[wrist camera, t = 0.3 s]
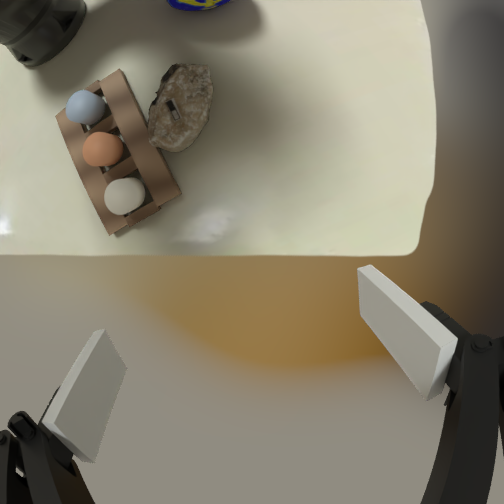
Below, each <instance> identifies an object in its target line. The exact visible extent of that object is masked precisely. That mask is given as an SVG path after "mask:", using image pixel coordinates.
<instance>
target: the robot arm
mask: <svg viewBox="0 0 504 504" xmlns="http://www.w3.org/2000/svg"><path fill="white" fill-rule="evenodd" d="M84 15H85V3H84V1H83V0H0V44H3V45H5V46H6V47H7V48H8V49H9V51H10V52H11V53H12V55H13V56H14V57H15V59H16V60H17V61H19V62H20V63H22V64H25V65H28V66H36V65H40V64H42V63H44V62H46V61H48V60H50V59H51V58H52V57H54V56H55V55H56V54H58V53H59V52H60V51H61V50H62V49H63V48H64V47H65V46H66V45H67V44H68V43H69V42H70V40H71V39H72V38H73V37H74V35H75V34H76V32H77V31H78V29H79V27H80V25H81V23H82V21H83V18H84ZM357 271H358V285H359V301H360V316H361V317H362V318H363V319H364V321H365V322H366V323H367V324H368V326H369V327H370V328H371V329H372V331H373V332H374V333H375V334H376V336H377V337H378V338H379V340H380V341H381V342H382V343H383V345H384V346H385V347H386V349H387V350H388V351H389V352H390V354H391V355H392V356H393V358H394V359H395V360H396V361H397V363H398V364H399V365H400V367H401V368H402V369H403V371H404V372H405V374H406V375H407V376H408V378H409V379H410V380H411V382H412V383H413V384H414V386H415V387H416V388H417V389H418V391H419V392H420V394H421V395H422V397H423V398H424V399H425V401H428V400H430V399H432V398H433V397H435V396H437V395H439V394H440V393H442V391H443V388H444V384H445V383H447V385H448V386H449V387H450V391H449V393H448V396H447V399H446V401H445V404H444V405H445V406H446V405H447V407H446V413H445V419H444V424H443V429H442V434H441V438H440V442H439V447H438V451H437V455H436V459H435V462H434V465H433V469H432V472H431V475H430V479H429V482H428V484H427V488H426V490H425V493H424V496H423V499H422V501H421V504H486V503H487V499H488V495H489V490H490V486H491V481H492V476H493V470H494V464H495V457H496V450H497V439H498V427H500V433H501V439H502V446H503V455H504V336H503V337H500V338H496V339H493V340H492V339H491V338H490V337H489V336H487V335H483V334H474V335H471V334H470V333H469V332H468V331H466V330H465V329H464V328H463V327H462V326H461V325H459V324H458V323H457V322H456V321H455V320H454V319H452V318H450V316H449V315H448V314H446V313H444V311H442V309H440V308H439V307H438V306H437V305H434V304H432V303H429V302H427V301H425V302H423V303H421V304H418V303H417V302H416V301H415V300H414V299H412V298H411V297H410V296H409V295H408V294H407V293H405V292H404V291H403V290H402V289H400V288H399V287H398V286H397V285H396V284H394V283H393V282H392V281H391V280H390V279H388V278H387V277H386V276H384V275H383V274H382V273H381V272H380V271H378V270H377V269H376V268H374V267H373V266H372V265H368V266H365V267H361V268H358V269H357ZM126 370H127V367H126V365H125V363H124V362H123V360H122V358H121V357H120V355H119V353H118V351H117V350H116V348H115V346H114V344H113V343H112V341H111V339H110V337H109V335H108V333H107V332H106V330H105V329H103V330H97V331H94V333H93V334H92V335H91V337H90V339H89V340H88V342H87V343H86V345H85V346H84V348H83V350H82V351H81V353H80V355H79V356H78V358H77V359H76V361H75V363H74V364H73V366H72V368H71V369H70V371H69V373H68V374H67V376H66V378H65V379H64V381H63V383H62V385H61V386H60V387H59V388H58V389H57V390H56V391H55V393H54V395H53V397H52V399H51V400H50V402H49V405H48V406H47V408H46V410H45V412H44V414H43V416H42V418H41V419H40V421H39V423H38V425H37V424H36V423H35V422H34V421H33V420H32V419H31V417H30V416H29V415H28V414H27V413H26V412H24V411H20V412H17V413H15V414H14V415H13V416H12V417H11V418H10V420H9V422H8V428H9V429H10V430H11V431H12V432H13V433H14V434H15V435H16V436H17V437H14V436H13V435H12V434H11V433H10V432H9V431H8V430H3V431H0V504H95V502H94V501H93V499H92V497H91V495H90V493H89V491H88V489H87V486H86V484H85V482H84V480H83V478H82V476H81V473H80V471H79V469H78V466H77V464H76V463H75V461H74V460H73V459H72V457H73V454H74V455H75V456H76V457H78V458H79V459H80V460H81V461H84V462H90V463H95V461H96V457H97V454H98V451H99V447H100V444H101V441H102V438H103V435H104V432H105V429H106V426H107V423H108V420H109V417H110V414H111V411H112V408H113V405H114V403H115V400H116V397H117V394H118V391H119V389H120V386H121V384H122V381H123V378H124V375H125V373H126ZM16 467H17V468H18V469H19V470H20V471H21V472H23V473H24V476H23V477H21V476H20V475H19V474H18V473H16Z"/></svg>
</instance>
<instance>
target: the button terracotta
mask: <svg viewBox="0 0 504 504" xmlns="http://www.w3.org/2000/svg"><path fill="white" fill-rule="evenodd" d="M123 149H124V147H123V142H122V140H121V139H120V138H119V137H118V136H116V135H114V134H109V133H104V132H95V133H93V134H91V135H90V136H89V137H88V138H87V139H86V141H85V142H84V145H83V150H82V153H83V157H84V160H85V161H86V163H87V164H89V165H91V166H110V165H113V164H115V163H117V162H118V161H119V160H120V158H121V156H122V154H123Z"/></svg>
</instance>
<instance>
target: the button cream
mask: <svg viewBox="0 0 504 504" xmlns="http://www.w3.org/2000/svg"><path fill="white" fill-rule="evenodd" d="M144 199H145V188H144V185H143V184H142V182H141V181H140V180H138V179H136V178H133V177H129V178H123V179H117V180H114V181H112V182H111V183H110V184H109V185H108V186H107V188H106V190H105V194H104V200H105V204H106V206H107V208H108V209H109V210H110V211H111V212H112V213H114V214H117V215H123V214H126V213H128V212H130V211H132V210H134V209H136V208H138V207H139V206H140V205H141V204H142V203H143V201H144Z"/></svg>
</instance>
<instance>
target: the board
mask: <svg viewBox="0 0 504 504" xmlns="http://www.w3.org/2000/svg"><path fill="white" fill-rule="evenodd" d="M84 90H87V91H89V92H91V93H93V94H96V95H98V94H99V93H101V92H102V91H103V94H104V96H105V98H106V101H107V103H108V105H109V108H110V110H111V112H112V114H111V115H110V116H109V117H107V118H106V119H104V120H103V121H101V122H100V123H98V124H97V125H96V126H94V127H93V128H92V129H90V130H89V131H88V130H87V128H86V126H85V124H82V123H77V122H73V121H70V120H69V119H68V118H67V116H66V107H65V108H64V109H63V110H62V111H61V112H59V113H58V114H57V115H56V119H57V122H58V125H59V127H60V130H61V133H62V135H63V138H64V140H65V143H66V146H67V148H68V150H69V153H70V155H71V158H72V160H73V162H74V165H75V167H76V169H77V171H78V174H79V176H80V178H81V180H82V182H83V185H84V187H85V189H86V191H87V193H88V195H89V197H90V199H91V201H92V203H93V205H94V207H95V209H96V211H97V213H98V215H99V217H100V219H101V221H102V223H103V225H104V226H105V228H106V230H107V232H108V234H109V236H110V235H111V234H113V233H114V232H116V231H118V230H119V229H121V228H122V227H124V226H126V225H127V224H128V225H129V227H131V226H133V225H134V224H136V223H138V222H139V221H141V220H143V219H145V218H146V217H148V216H150V215H152V214H153V213H155V212H157V211H159V210H160V209H162V208H161V207H160V205H162V204H164V203H165V202H167V201H169V200H171V199H173V198H175V197H176V196H178V195H180V194H182V193H181V192H180V190H179V188H178V186H177V184H176V182H175V180H174V178H173V176H172V174H171V172H170V170H169V168H168V166H167V164H166V162H165V160H164V158H163V156H162V154H161V152H160V150H159V148H158V147H154V146H152V145H151V144H150V142H149V133H148V125H147V123H146V121H145V119H144V117H143V115H142V112H141V110H140V108H139V106H138V104H137V102H136V100H135V97H134V95H133V93H132V91H131V89H130V87H129V84H128V82H127V80H126V78H125V76H124V73H123V72H122V71H121V70H120V69H118V70H117V71H115V72H113V73H112V74H110V75H109V76H107V77H106V78H104V79H103V80H101V81H99V80H97V81H95V82H94V83H93V84H91V85H90V86H88V87H87V88H86V89H84ZM118 128H119V130H120V132H121V135H122V137H123V139H124V141H125V143H126V145H127V147H128V149H129V152H130V154H131V156H130V157H129V158H127V159H125V160H124V161H122V162H121V163H119V164H118V165H116V166H115V167H113V168H112V169H110V170H109V171H107V172H106V171H105V169H104V167H103V166H91V165H89V164H87V163H86V161H85V160H84V157H83V153H82V150H83V145H84V142H85V141H86V139H87V138H88V137H89V136H90V135H91V134H93V133H95V132H104V133H109V134H111V133H112V132H114V131H115V130H117V129H118ZM137 170H139V172H140V174H141V176H142V178H143V180H144V182H145V184H146V186H147V188H148V190H149V192H150V194H151V196H152V198H153V200H154V201H152V202H151V203H149V204H147V205H145V206H144V207H142V208H140V209H139V210H137V211H135V212H134V213H132V214H130V215H129V216H128V215H127V213H126V214H123V215H117V214H114V213H112V212H111V211H110V210H109V209H108V208H107V206H106V204H105V200H104V194H105V190H106V188H107V186H108V185H109V184H110V183H111V182H112V181H114V180H117V179H123V178H126V177H127V176H129V175H130V174H132V173H134V172H135V171H137Z"/></svg>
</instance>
